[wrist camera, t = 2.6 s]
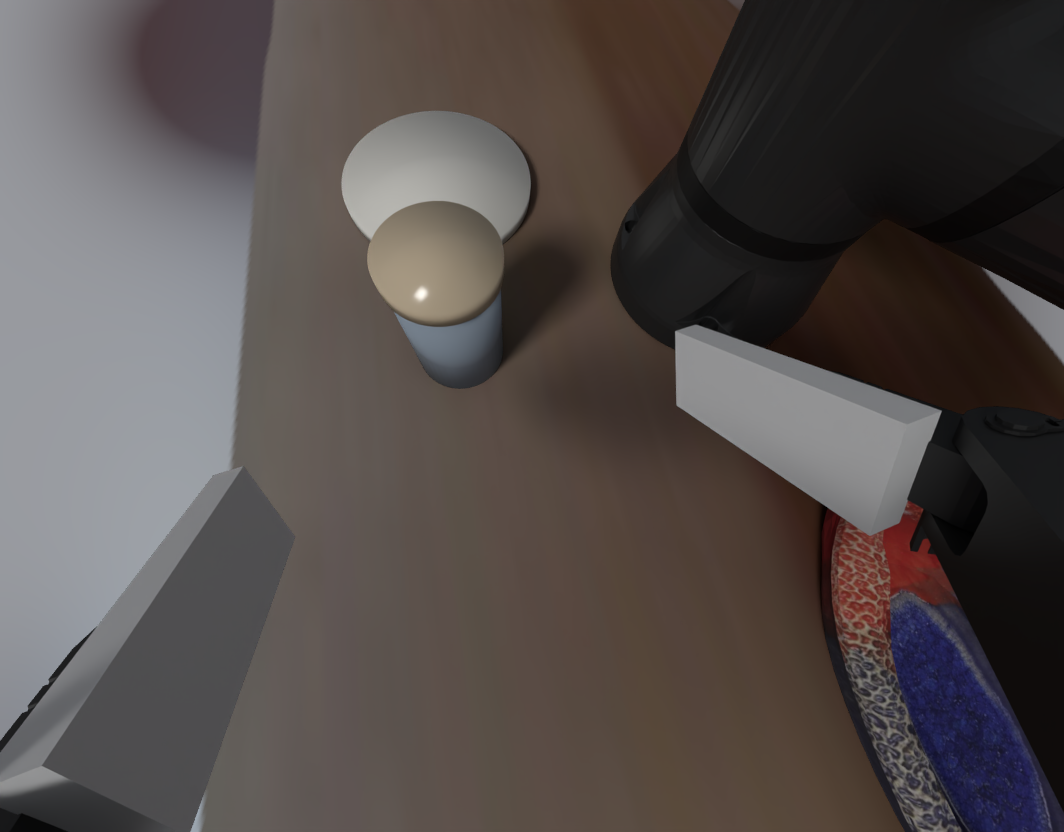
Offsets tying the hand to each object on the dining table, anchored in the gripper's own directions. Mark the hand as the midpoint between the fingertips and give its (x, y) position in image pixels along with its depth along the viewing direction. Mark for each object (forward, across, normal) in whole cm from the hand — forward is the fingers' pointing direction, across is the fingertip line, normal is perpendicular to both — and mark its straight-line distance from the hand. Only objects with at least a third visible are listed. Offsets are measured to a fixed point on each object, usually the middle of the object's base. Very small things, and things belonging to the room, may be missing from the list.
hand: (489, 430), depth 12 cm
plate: (+27, +3, +8) cm, 29 cm away
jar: (+17, 0, -3) cm, 17 cm away
